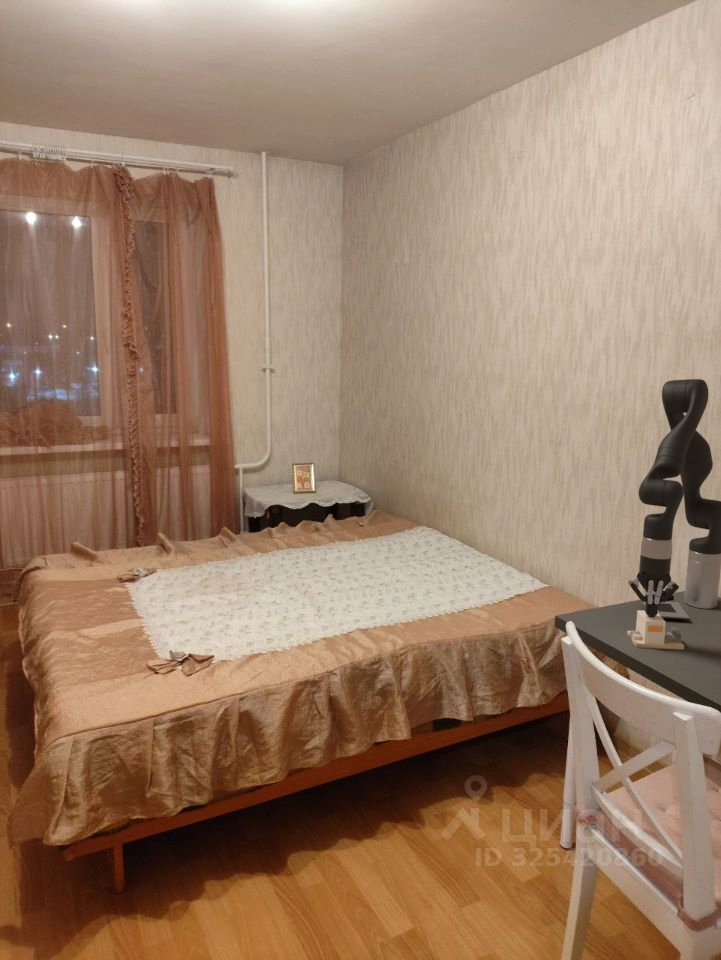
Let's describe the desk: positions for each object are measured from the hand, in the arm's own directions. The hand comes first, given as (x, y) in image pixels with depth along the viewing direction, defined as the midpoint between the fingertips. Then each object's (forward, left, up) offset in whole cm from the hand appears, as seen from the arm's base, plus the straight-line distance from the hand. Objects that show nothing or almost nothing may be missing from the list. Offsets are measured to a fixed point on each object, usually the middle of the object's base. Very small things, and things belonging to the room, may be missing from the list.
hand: (650, 616), depth 182 cm
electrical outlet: (-22, +11, -8) cm, 26 cm away
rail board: (0, +2, -7) cm, 7 cm away
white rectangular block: (0, 0, -6) cm, 6 cm away
